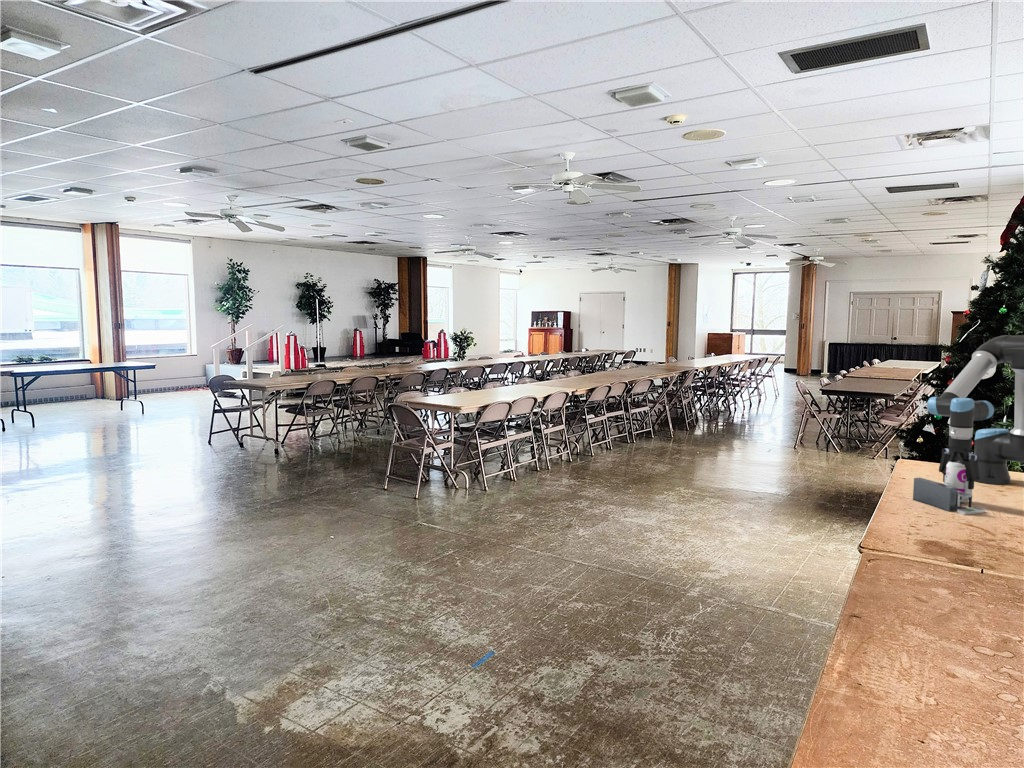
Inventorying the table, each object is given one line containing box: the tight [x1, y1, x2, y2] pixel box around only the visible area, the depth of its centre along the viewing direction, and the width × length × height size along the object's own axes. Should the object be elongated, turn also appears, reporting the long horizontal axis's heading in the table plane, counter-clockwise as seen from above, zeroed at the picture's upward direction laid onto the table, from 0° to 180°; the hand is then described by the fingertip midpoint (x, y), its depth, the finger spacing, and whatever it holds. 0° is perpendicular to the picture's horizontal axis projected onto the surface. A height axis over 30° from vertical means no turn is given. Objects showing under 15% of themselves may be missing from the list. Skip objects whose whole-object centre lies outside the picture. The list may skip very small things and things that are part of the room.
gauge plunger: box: [956, 490, 973, 508], centre depth 249 cm, size 1×19×6 cm, turn 15°
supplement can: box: [946, 460, 969, 503], centre depth 253 cm, size 8×8×15 cm
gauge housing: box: [912, 477, 986, 516], centre depth 249 cm, size 12×21×9 cm, turn 15°
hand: (957, 493), depth 253 cm, fingers closed on supplement can, 8 cm apart
